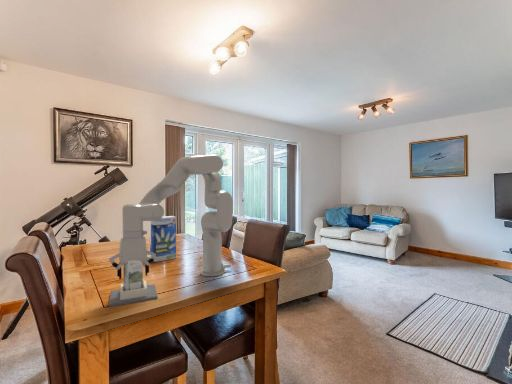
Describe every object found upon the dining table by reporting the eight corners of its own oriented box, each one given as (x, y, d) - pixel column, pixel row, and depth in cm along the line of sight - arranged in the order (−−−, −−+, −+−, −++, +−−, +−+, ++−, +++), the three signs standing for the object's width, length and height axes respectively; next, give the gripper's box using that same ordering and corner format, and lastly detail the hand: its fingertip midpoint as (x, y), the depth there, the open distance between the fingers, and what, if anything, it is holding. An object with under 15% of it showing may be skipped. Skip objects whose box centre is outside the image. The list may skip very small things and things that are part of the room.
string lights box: (154, 262, 154) (154, 218, 154) (150, 259, 160) (150, 217, 159) (176, 258, 163) (176, 216, 162) (171, 255, 169) (171, 215, 168)
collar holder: (154, 286, 118) (154, 277, 118) (157, 298, 106) (157, 288, 106) (111, 292, 111) (111, 283, 111) (108, 307, 98) (108, 296, 98)
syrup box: (137, 289, 112) (137, 255, 112) (143, 293, 108) (142, 258, 108) (123, 293, 108) (123, 257, 108) (128, 297, 104) (128, 261, 104)
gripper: (155, 231, 115) (155, 270, 115) (109, 234, 107) (110, 276, 108) (156, 234, 108) (157, 276, 108) (108, 238, 100) (108, 282, 101)
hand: (133, 276), depth 108 cm, fingers open, 9 cm apart
